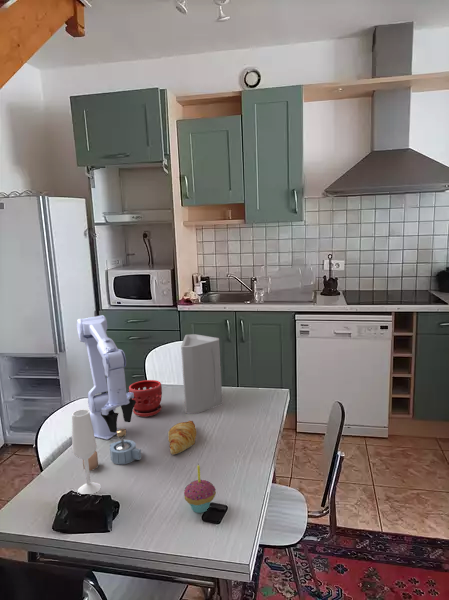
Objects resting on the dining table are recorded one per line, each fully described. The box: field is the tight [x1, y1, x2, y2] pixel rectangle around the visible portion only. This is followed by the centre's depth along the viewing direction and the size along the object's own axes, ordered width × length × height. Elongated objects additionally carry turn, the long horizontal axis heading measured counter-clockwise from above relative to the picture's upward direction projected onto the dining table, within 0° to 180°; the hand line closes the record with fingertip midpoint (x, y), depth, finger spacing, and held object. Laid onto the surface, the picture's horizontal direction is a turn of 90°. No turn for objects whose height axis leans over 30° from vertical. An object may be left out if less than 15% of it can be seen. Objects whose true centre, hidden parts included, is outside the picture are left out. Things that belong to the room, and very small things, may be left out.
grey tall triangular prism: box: [180, 333, 223, 415], centre depth 184 cm, size 19×15×28 cm
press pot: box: [109, 439, 142, 466], centre depth 145 cm, size 11×8×4 cm
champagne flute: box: [71, 408, 102, 494], centre depth 127 cm, size 7×7×24 cm
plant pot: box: [128, 379, 163, 418], centre depth 180 cm, size 13×13×12 cm
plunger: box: [116, 428, 130, 451], centre depth 145 cm, size 5×5×6 cm
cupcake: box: [183, 462, 217, 514], centre depth 118 cm, size 9×8×12 cm
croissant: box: [167, 420, 198, 456], centre depth 154 cm, size 21×10×8 cm, turn 168°
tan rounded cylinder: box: [82, 450, 99, 471], centre depth 141 cm, size 5×5×4 cm
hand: (120, 426), depth 145 cm, fingers open, 7 cm apart
